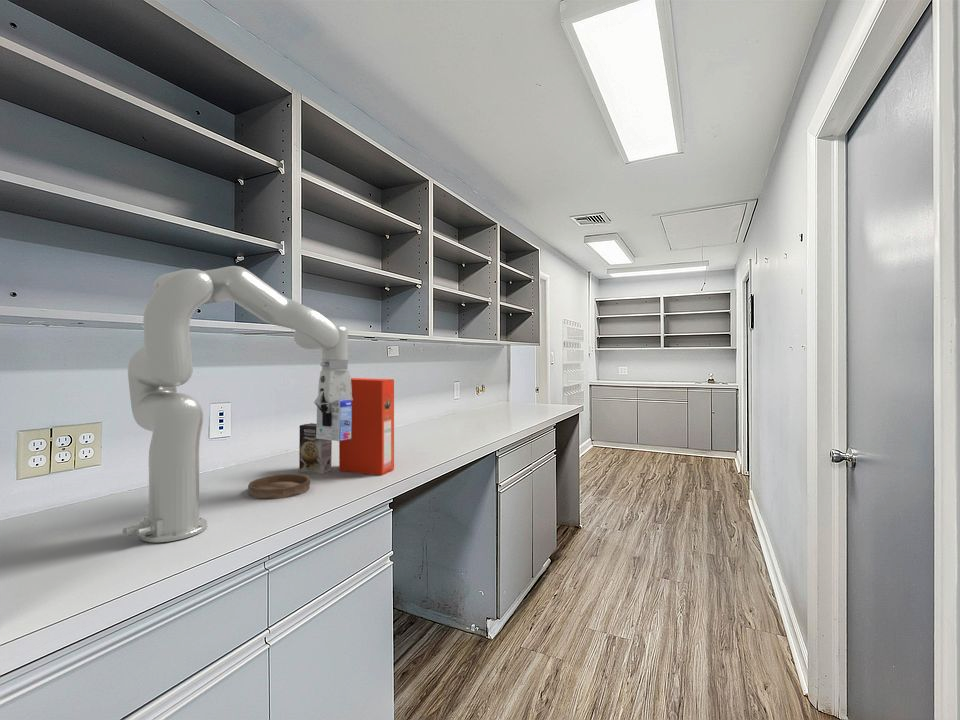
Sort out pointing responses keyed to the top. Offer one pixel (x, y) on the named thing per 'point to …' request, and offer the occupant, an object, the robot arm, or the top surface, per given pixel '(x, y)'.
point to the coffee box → (313, 451)
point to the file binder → (370, 428)
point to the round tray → (279, 486)
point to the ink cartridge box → (336, 422)
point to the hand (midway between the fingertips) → (334, 424)
